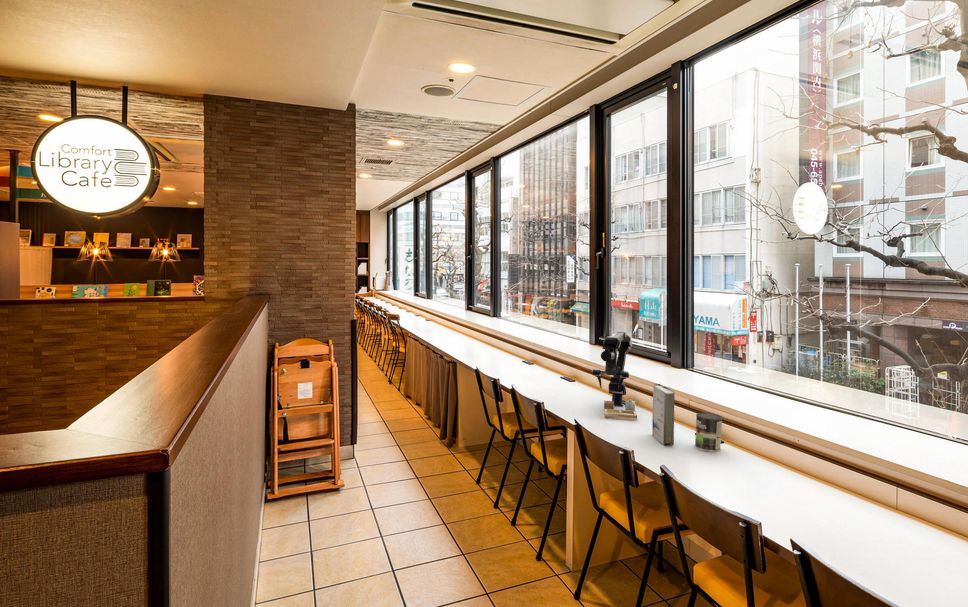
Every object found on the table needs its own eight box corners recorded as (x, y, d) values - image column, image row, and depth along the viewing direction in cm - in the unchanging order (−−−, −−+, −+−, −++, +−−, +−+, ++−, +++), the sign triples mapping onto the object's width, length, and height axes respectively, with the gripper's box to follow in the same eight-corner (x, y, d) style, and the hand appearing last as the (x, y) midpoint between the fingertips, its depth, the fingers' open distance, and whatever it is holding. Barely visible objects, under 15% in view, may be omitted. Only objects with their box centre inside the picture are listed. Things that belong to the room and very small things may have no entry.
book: (650, 433, 237) (652, 382, 236) (662, 434, 237) (664, 383, 236) (661, 446, 221) (663, 391, 219) (674, 446, 221) (676, 391, 219)
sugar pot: (624, 410, 276) (625, 398, 275) (634, 411, 275) (634, 399, 274) (625, 413, 271) (625, 400, 271) (635, 414, 270) (635, 401, 270)
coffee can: (705, 452, 213) (706, 419, 212) (689, 444, 223) (691, 413, 223) (726, 451, 216) (727, 418, 215) (710, 443, 226) (711, 411, 225)
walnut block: (603, 409, 278) (604, 400, 278) (613, 410, 277) (613, 401, 277) (604, 411, 273) (604, 402, 273) (613, 412, 272) (614, 403, 272)
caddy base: (604, 413, 270) (604, 408, 270) (635, 415, 267) (635, 411, 267) (604, 418, 262) (604, 413, 261) (637, 420, 258) (637, 415, 258)
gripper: (593, 360, 268) (592, 390, 268) (630, 363, 264) (628, 393, 264) (593, 358, 279) (591, 386, 279) (628, 360, 275) (627, 389, 275)
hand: (609, 389), depth 274 cm, fingers open, 9 cm apart
